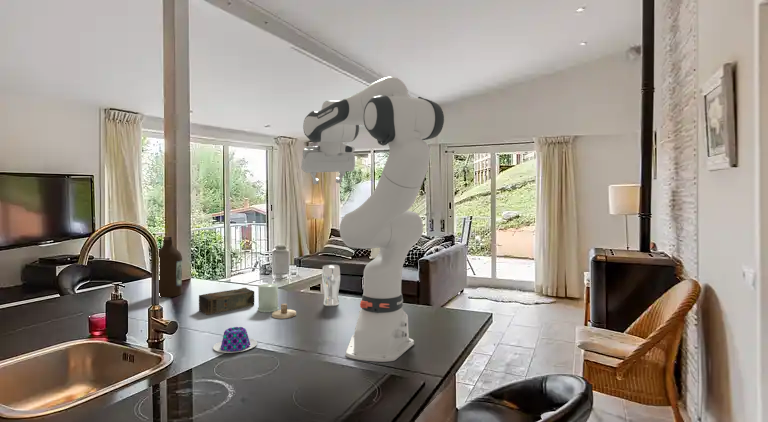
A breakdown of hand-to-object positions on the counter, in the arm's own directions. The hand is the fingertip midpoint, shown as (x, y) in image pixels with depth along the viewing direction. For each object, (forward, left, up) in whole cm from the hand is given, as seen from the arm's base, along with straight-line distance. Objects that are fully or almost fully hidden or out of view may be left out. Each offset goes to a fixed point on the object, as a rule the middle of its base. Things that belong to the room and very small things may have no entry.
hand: (327, 183), depth 164 cm
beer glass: (+7, +1, -47) cm, 48 cm away
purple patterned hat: (-43, +11, -48) cm, 65 cm away
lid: (-11, +12, -47) cm, 50 cm away
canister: (-6, +21, -47) cm, 52 cm away
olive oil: (+4, +73, -47) cm, 87 cm away
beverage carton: (-8, +38, -48) cm, 61 cm away
